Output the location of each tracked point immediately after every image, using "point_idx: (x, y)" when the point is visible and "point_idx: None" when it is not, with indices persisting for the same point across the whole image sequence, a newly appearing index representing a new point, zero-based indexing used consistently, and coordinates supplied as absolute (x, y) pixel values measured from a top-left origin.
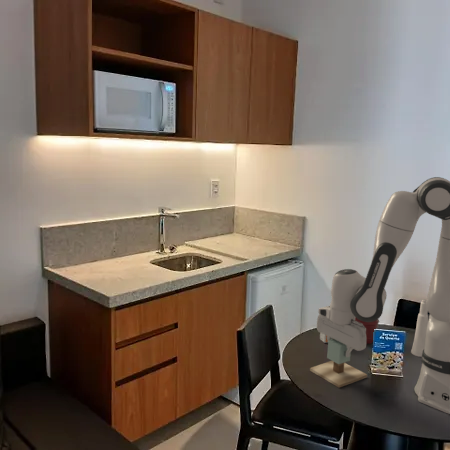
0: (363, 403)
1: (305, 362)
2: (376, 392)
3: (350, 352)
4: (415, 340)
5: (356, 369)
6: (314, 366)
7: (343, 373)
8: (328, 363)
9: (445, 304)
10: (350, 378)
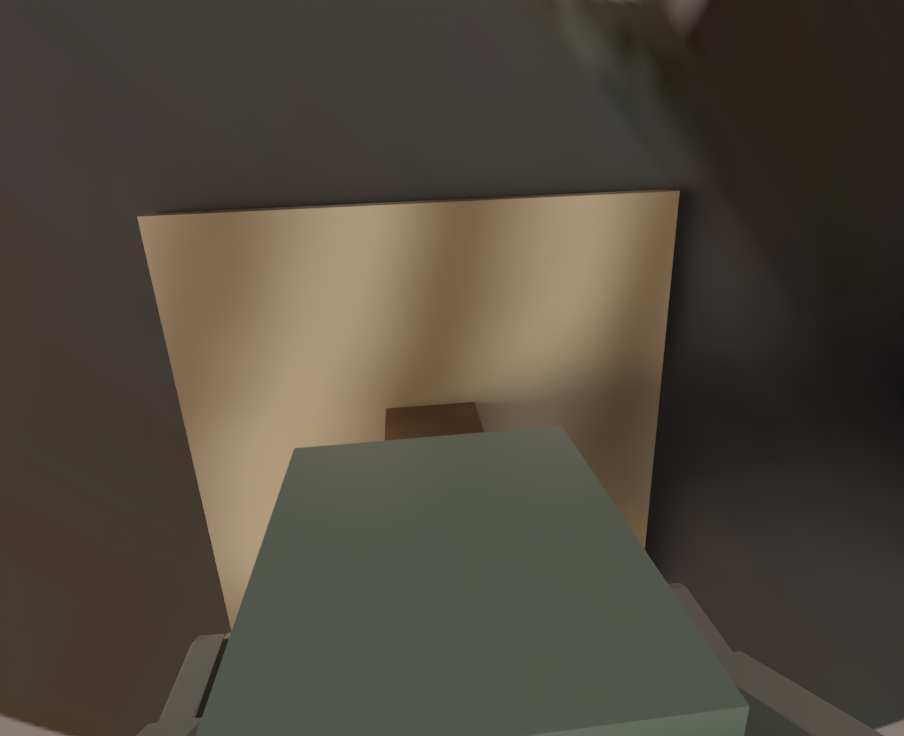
0: (894, 566)
1: (54, 566)
2: (895, 350)
3: (616, 513)
4: None
5: (514, 213)
6: (223, 593)
7: (502, 429)
8: (218, 419)
9: None
10: (621, 438)
